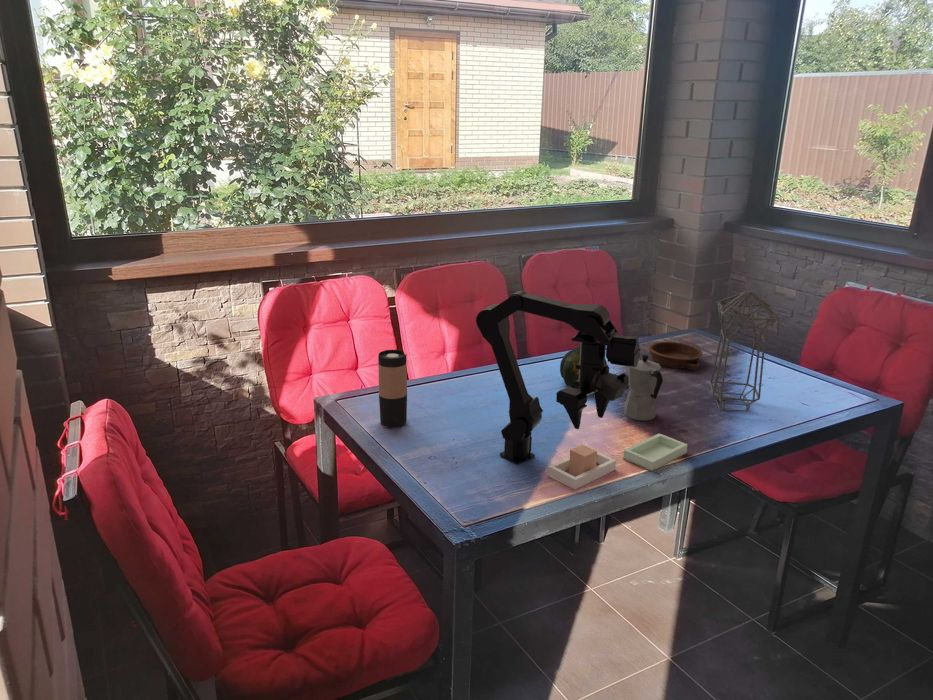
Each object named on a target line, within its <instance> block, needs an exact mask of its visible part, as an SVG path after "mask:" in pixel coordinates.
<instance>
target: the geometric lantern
mask: <svg viewBox="0 0 933 700" xmlns="http://www.w3.org/2000/svg"><path fill="white" fill-rule="evenodd" d="M752 298H753V299H754V300H755V301H756V302H757V303H758V304H752ZM729 300H731V301H729ZM728 301H729V302H728ZM743 303H744V304H743ZM747 303H748V304H747ZM715 304H717V309H718V320H719V321H720V325H721V329H720V334H719V340H718V345H717V348H716V353H715V357H714V358H715V359H714V363H713V369H712V373H711V377H710V382H709V385H710V390H711V395H712V396H713V398H715V403H716V405H717V407H718V410H720V411H727V412H728V411H729V412H730V411H731V412H746V413H747V412H748V411H749V410H750V407H751V404H754V403H755V402H757V401H759V400H760V399H761V393H762V391H761V390H762V380H763V369H764V362H765V361H764V359H765V351H766V350H765V348H766V343H767V341H766V340H765V338H766V334H767V330H768V328H769V326H770V327H772V326H773V324H775V323H776V322H777V321H779V320H781V318H780V317H779V316H778V315H777V314H776V313H775V312H774V311H773V309H772V306H771V304H769V303H767V302H766V301H765V300H764V299H763V298H761V297H759V296H758V295H757V294H756V293H755V292H754V291H751V290H746V291H745V290H744V291H743V292H740V293H736V294H735V295H732V296H729V297H726V298H723V299H721V300H717V301H715ZM737 307H739V308H738V311H737V310H736V309H737ZM753 307H758V308H756V309H755V310H753ZM741 308H742V311H741ZM746 308H749V309H748V312H747V313H745V310H746ZM762 309H764V310H765V312H766V313H768V317H767V318H766V317H761V318H760V317H759V318H754V314H755V313H756V312H758V311H760V310H762ZM730 310H731V311H730ZM728 311H730V312H729V313H728ZM726 313H728V314H727V315H726ZM732 313H735V314H732ZM724 317H725V318H729V319H731V321H730V323H729V324H728V326H727V327H726V328H724V324H723V318H724ZM736 318H739V319H740V322H739V321H737V320H736ZM743 319H744V320H748V321H749V322H750V325H751V326H747V325H746V326H743V322H744V321H743ZM754 321H761V322H759V323H757V324H755V325H754ZM762 321H763V322H762ZM733 323H735V324H737V325H738V326H739V327H738V328H737V329H731V328H730V327H731V325H732V324H733ZM762 325H764V326H763V328H762V329H761V331H760V332H759V331H757V329H756V328H757V327H759V326H762ZM745 329H751V330H745ZM729 331H733V333H731V335H730V336H728V332H729ZM737 332H746V333H753V334H754V337H753V342H752V341H742V340H733V339H731V337H733V335H735V334H736V333H737ZM763 332H764V334H763ZM758 335H759V336H758ZM722 338H723V341H722ZM731 342H732V343H733V342H734V343H745V344H752V350H751V356H750V360H749V367H748V372H747V378H746V383H744V382H733V381H732V382H731V381H725V377H726V371H727V363H728V356H729V355H728V354H729V350H730V349H729V347H730V343H731ZM726 343H727V344H726ZM721 344H722V346H721ZM756 345H757V351H756V358H755V359H756V361H755V369H754V370H755V371H754V372H755V373H754V382H753V385H752V384H750V383H749V381H750V374H751V371H752V364H753V360H754V359H753V357H754V353H755V347H756ZM761 345H762V351H761ZM725 347H726V350H725ZM720 348H721V350H720ZM724 352H725V359H724V366H723V374H722V380H720V381H719V375H720V371H721V365H722V361H723V357H724ZM760 352H761V363H760V364H761V365H760V373H759V383H758V390H757V380H758V370H759V359H760ZM719 353H720V356H719ZM718 357H719V361H718ZM717 362H718V365H717ZM716 367H717V369H716ZM715 372H716V375H715ZM714 375H715V379H714ZM713 380H714V381H713ZM718 384H721V386H720V387H721V388H720V390H719V386H718ZM724 384H725V385H726V384H727V385H739V386H744V388H743V390H742V392H741V393H740V392H739V393H736V392H724ZM747 387H749V388H751V389H750V390H749V391H748V392H746V393H745V390H746V388H747ZM716 389H717V390H716ZM751 392H752V399H748V398H747V395H749V394H750V393H751ZM744 393H745V394H744ZM723 395H737V396H739V397H731V396H723ZM742 396H743V397H742ZM756 397H757V398H756ZM724 400H727V401H739V402H740V401H741V402H743V403H734V402H725V401H724ZM746 402H747V403H746ZM719 403H720V405H719ZM722 405H723V408H722ZM726 405H736V406H737V405H738V406H745V407H746V408H745V409H727V408H726Z"/></svg>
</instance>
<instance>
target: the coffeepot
mask: <svg viewBox="0 0 933 700" xmlns="http://www.w3.org/2000/svg"><path fill="white" fill-rule="evenodd" d="M648 358H649V356H648V354H643V355H642V359H640V358H639V361H638V365H637V367H629V366H627V375H628V376H629V384H628V386H629V391H628V393H627V396H626V399H625V403H624V406H623V413H624V416H625V417H626V418H629V419H631V420H634V421H652V420H654V418H656V416H657V415H656V403H655V402H656V401H655V400H656V399H658V398H657V397H658V395H659V392H660V389H661V388H662V384H663V380H664V378H663V375H662V373H661V371H662V366H661V365H659V364H658V363H655V362H654V361H652V360H648Z"/></svg>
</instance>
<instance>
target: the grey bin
mask: <svg viewBox="0 0 933 700" xmlns="http://www.w3.org/2000/svg"><path fill="white" fill-rule="evenodd" d="M569 460H570V456H568V457H565V458H564V459H561V460H559V461H557V462H555V463H552V464H551V465H549V466H548V467H547V477H549V478H551V479H553V480H556V481H557V482H559V483H561V484H563V485H565V486H567V487H570V488H571V489H573V490H577V489H579V488H581V487H583V486H585V485H587V484H589V483H592V482H593V481H595V480H598V479H599V478H601V477H603V476H605V475H608V474H609V473H611V472H613V471H615V470H616V468H617V459H614V458H612V457H610V456H608V455H605V454H603V453H601V452H598V451H597V458H596V467H595V468H593V469H591V470H589V471H587V472H584V473H582V474H580V475H578V476H575V475H573V474H571V473H569V472H566V471H569Z"/></svg>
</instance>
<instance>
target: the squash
mask: <svg viewBox="0 0 933 700" xmlns="http://www.w3.org/2000/svg"><path fill="white" fill-rule="evenodd" d="M578 363H580V345H578V346H576V347H574V348H573V349H571V350H569V351H568V352H567V353H565V354H564V355H563V356H562V359H561V361H560V364H559V373H560V376H561V378H562V379H563V382H564V384H565V386H566V388H567V387H571V388H574V389H577V390H578V389H580V388H579V386H576V385H575V381H576V380H578V379H579V369H576V368H575V367H576V364H578ZM605 364H606V365H608V361H607V358H605Z"/></svg>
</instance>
